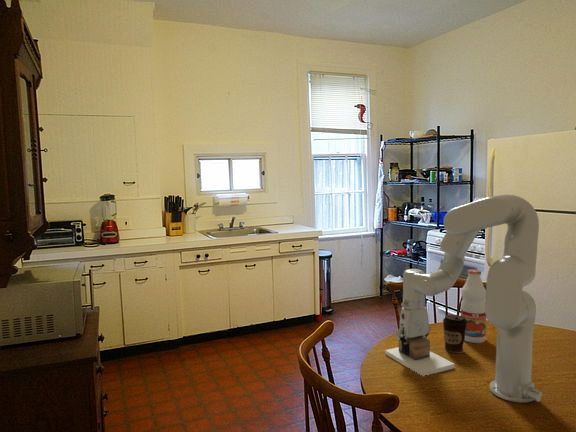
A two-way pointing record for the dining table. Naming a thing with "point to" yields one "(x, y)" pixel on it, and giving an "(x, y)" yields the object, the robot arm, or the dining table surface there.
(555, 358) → the dining table surface
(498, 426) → the dining table surface
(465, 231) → the robot arm
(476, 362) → the dining table surface
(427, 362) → the board
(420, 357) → the block
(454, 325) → the coffee cup
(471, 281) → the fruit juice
